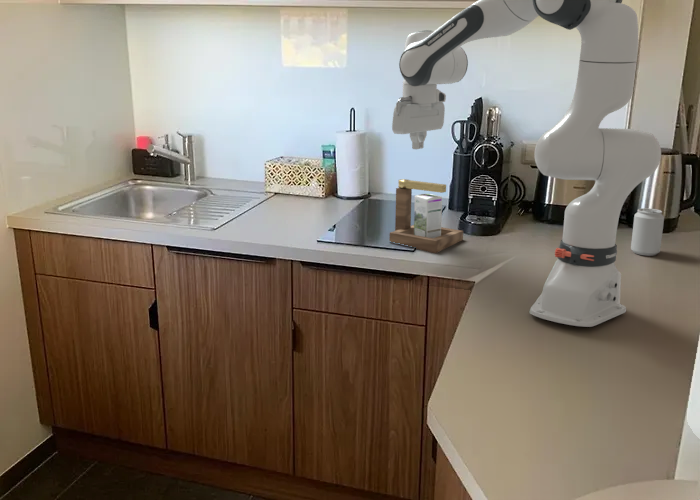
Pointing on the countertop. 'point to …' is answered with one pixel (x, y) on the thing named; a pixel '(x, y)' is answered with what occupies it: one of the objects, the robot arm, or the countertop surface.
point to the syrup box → (427, 215)
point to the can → (647, 231)
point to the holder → (406, 231)
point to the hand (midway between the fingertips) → (417, 148)
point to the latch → (422, 185)
